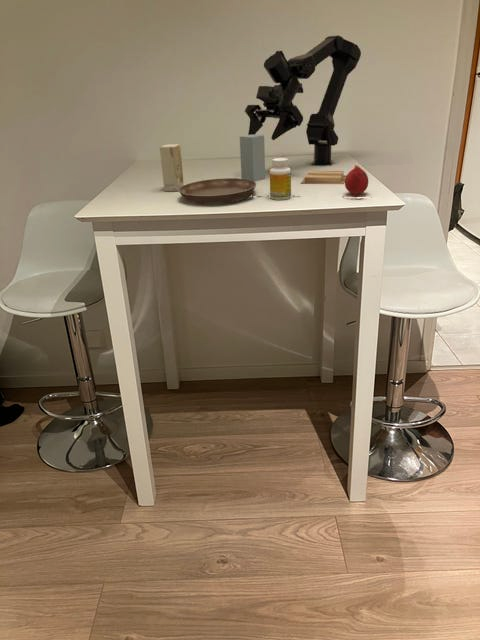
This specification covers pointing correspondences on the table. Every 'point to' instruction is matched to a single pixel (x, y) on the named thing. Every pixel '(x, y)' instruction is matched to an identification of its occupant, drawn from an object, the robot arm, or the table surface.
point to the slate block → (252, 157)
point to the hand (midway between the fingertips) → (260, 138)
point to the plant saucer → (217, 191)
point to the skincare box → (171, 167)
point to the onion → (356, 181)
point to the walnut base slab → (326, 183)
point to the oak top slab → (324, 177)
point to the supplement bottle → (280, 179)
